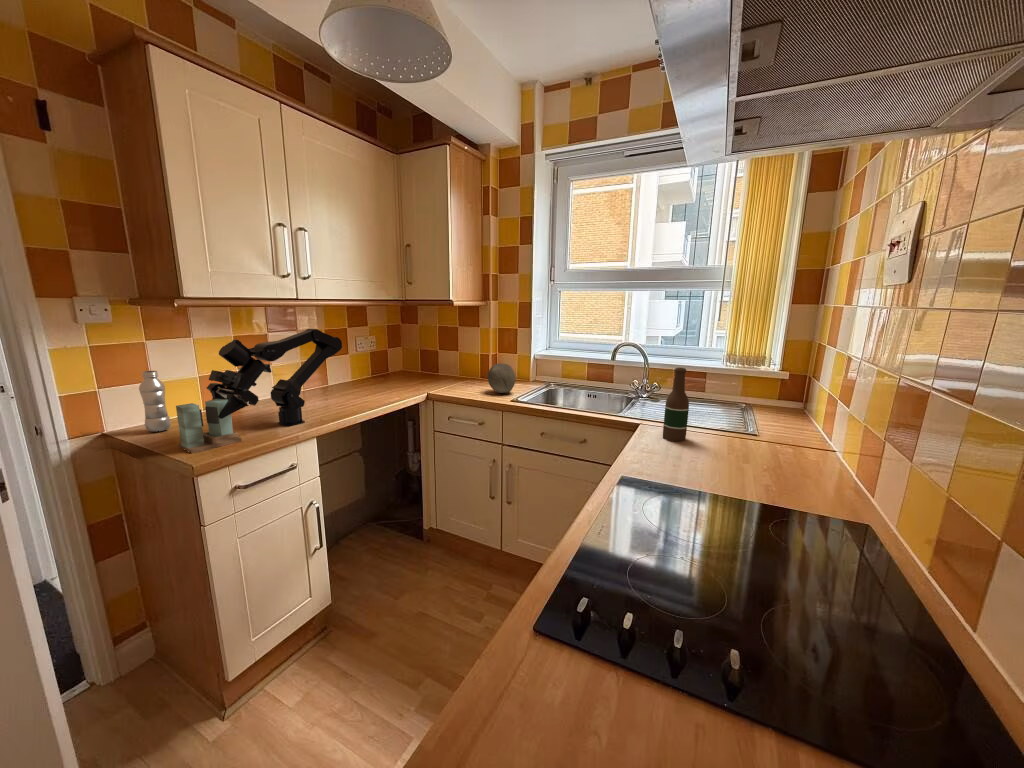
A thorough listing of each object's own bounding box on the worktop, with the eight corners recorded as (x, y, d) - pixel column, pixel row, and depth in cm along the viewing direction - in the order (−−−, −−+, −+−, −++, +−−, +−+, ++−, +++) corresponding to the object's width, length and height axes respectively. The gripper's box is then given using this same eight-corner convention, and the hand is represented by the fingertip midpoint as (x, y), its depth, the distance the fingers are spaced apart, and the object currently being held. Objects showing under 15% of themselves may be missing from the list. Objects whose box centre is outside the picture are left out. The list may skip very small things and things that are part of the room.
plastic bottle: (157, 434, 131) (147, 373, 128) (140, 433, 133) (130, 372, 129) (177, 428, 138) (168, 370, 134) (160, 427, 139) (151, 369, 135)
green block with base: (227, 435, 132) (223, 396, 129) (241, 441, 127) (236, 400, 124) (178, 447, 121) (172, 404, 118) (191, 453, 116) (185, 409, 114)
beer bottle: (667, 433, 143) (674, 365, 138) (690, 438, 137) (697, 368, 133) (657, 438, 137) (663, 367, 133) (680, 443, 132) (687, 370, 127)
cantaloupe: (519, 392, 205) (520, 362, 202) (508, 397, 192) (508, 366, 189) (494, 389, 211) (495, 360, 208) (481, 394, 198) (481, 364, 195)
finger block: (221, 435, 129) (216, 398, 126) (233, 436, 128) (229, 399, 125) (208, 440, 124) (203, 402, 122) (220, 441, 123) (215, 403, 121)
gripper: (209, 357, 129) (173, 398, 122) (244, 362, 121) (207, 406, 113) (238, 378, 137) (206, 417, 130) (272, 384, 129) (240, 426, 122)
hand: (214, 416), depth 123 cm, fingers open, 6 cm apart
